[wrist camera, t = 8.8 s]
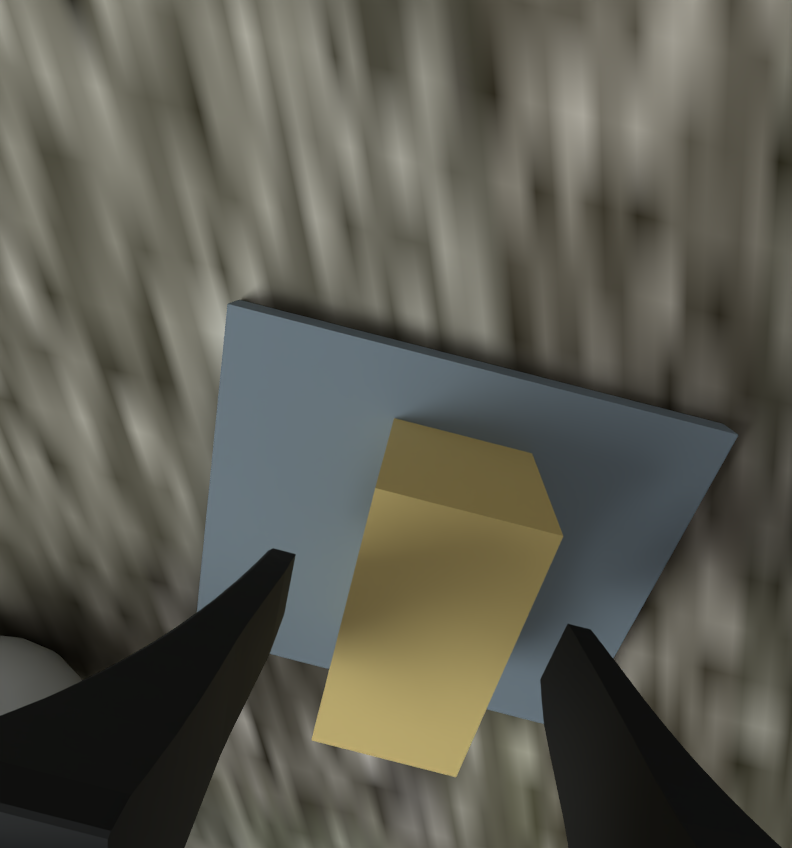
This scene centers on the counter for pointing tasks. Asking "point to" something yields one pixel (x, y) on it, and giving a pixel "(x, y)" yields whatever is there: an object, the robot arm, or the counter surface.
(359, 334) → the mat
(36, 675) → the donut
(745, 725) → the counter surface
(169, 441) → the counter surface
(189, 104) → the counter surface
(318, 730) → the yellow rectangular block
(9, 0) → the counter surface
